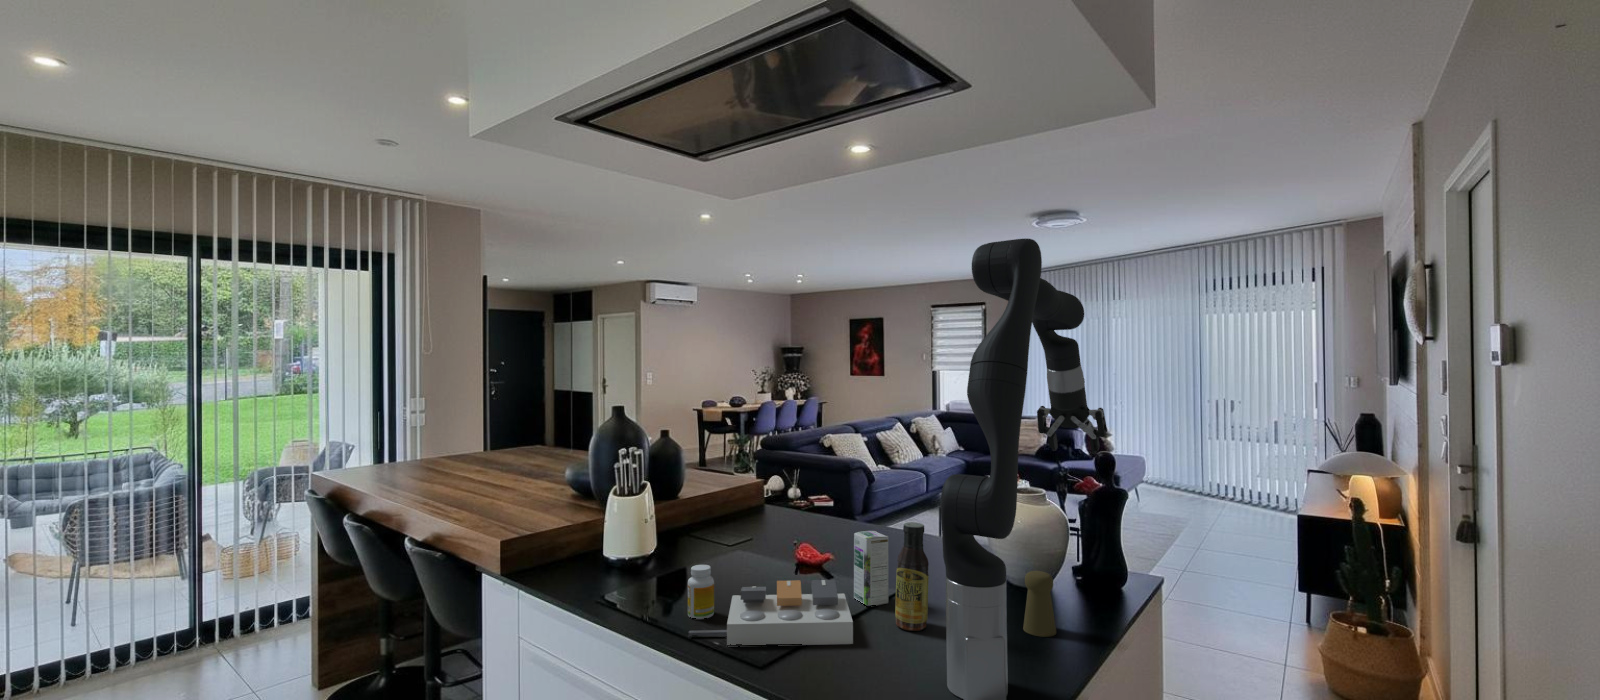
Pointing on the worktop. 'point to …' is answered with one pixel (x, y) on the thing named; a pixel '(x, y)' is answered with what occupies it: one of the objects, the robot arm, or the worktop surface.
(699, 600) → the supplement bottle
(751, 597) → the block
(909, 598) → the sauce bottle
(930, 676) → the worktop surface
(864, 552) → the syrup box
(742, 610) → the power strip
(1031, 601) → the yellow pepper mill
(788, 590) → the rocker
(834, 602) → the block
